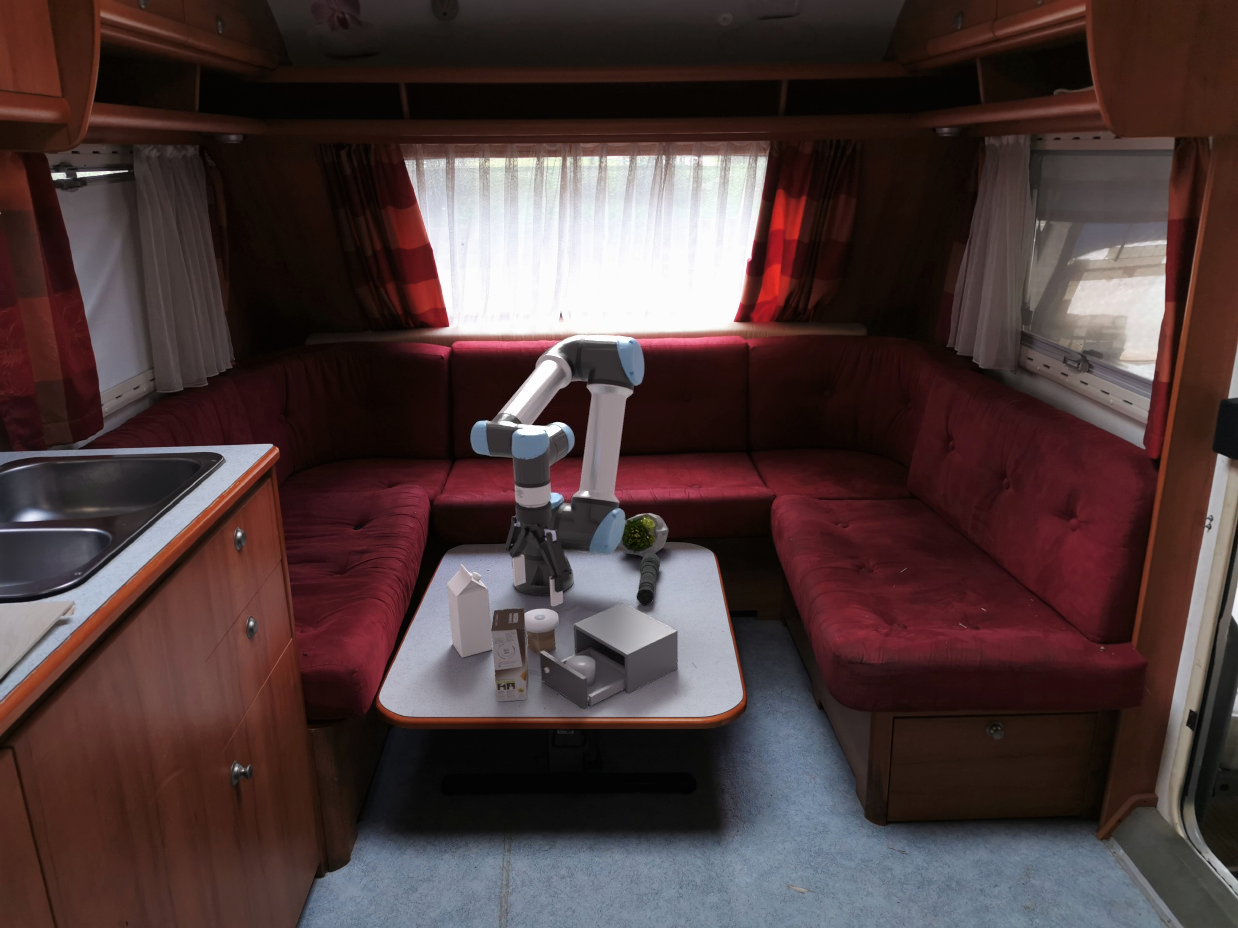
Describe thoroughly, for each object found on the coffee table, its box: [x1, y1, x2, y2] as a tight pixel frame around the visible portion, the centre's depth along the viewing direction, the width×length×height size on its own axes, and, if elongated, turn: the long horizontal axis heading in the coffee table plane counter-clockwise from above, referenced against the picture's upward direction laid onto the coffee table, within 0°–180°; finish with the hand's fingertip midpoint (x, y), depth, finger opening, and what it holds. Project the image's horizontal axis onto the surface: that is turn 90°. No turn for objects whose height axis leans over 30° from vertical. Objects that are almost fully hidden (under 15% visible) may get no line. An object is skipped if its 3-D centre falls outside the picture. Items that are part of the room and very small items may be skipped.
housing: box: [573, 602, 679, 695], centre depth 192 cm, size 17×14×9 cm
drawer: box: [539, 647, 625, 709], centre depth 185 cm, size 15×14×7 cm
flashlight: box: [636, 553, 661, 606], centre depth 227 cm, size 5×21×5 cm, turn 174°
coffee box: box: [491, 607, 529, 702], centre depth 183 cm, size 9×6×16 cm
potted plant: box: [618, 512, 669, 558], centre depth 244 cm, size 12×13×15 cm
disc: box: [524, 608, 560, 633], centre depth 198 cm, size 8×8×2 cm
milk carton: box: [446, 563, 493, 658], centre depth 198 cm, size 7×7×19 cm
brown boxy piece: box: [526, 628, 557, 656], centre depth 199 cm, size 4×4×6 cm
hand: (537, 593), depth 196 cm, fingers open, 13 cm apart
